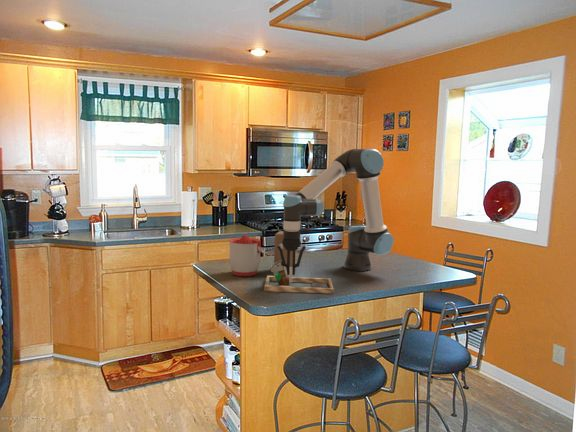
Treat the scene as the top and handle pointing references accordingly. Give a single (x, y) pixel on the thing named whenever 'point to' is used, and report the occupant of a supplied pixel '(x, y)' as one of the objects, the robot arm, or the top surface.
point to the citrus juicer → (245, 255)
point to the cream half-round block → (280, 273)
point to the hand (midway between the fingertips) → (290, 281)
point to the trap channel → (317, 287)
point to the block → (276, 251)
